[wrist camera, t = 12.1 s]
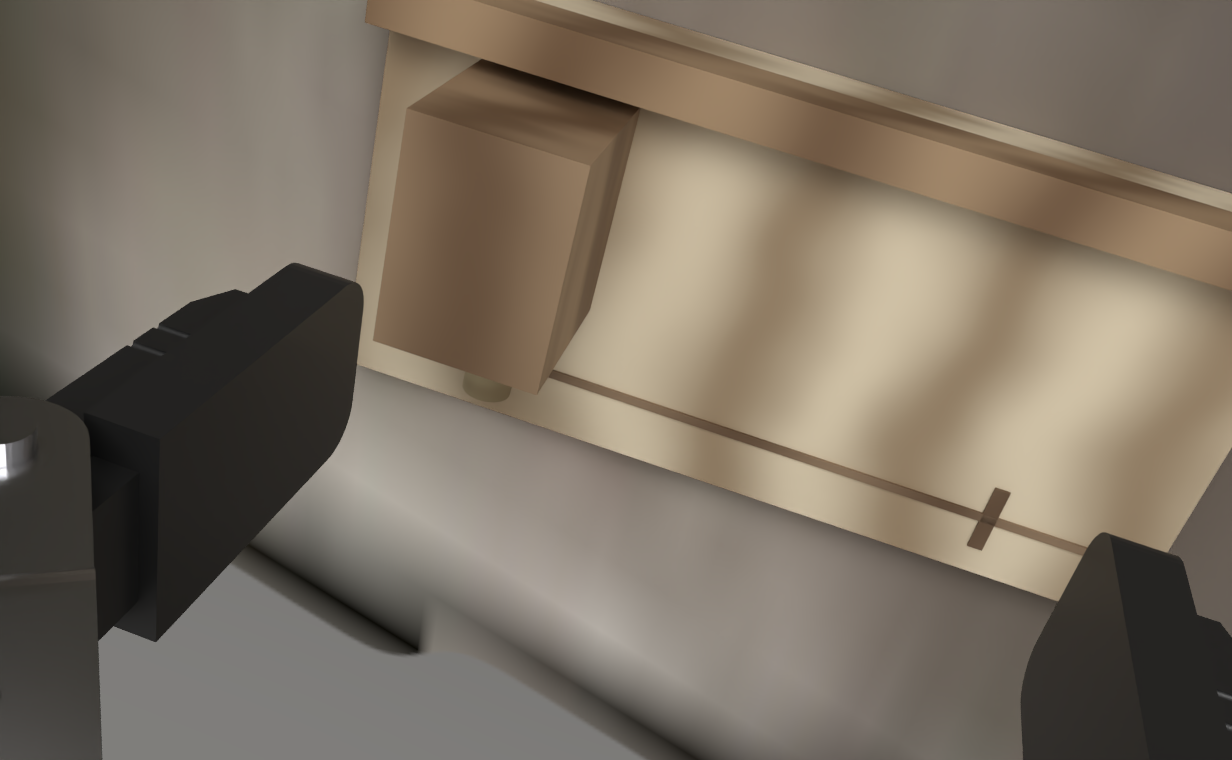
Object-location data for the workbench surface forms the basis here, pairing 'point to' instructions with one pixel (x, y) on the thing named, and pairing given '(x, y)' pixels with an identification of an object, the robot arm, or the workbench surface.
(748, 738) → the workbench surface
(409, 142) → the brown boxy piece
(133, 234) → the workbench surface
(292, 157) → the workbench surface
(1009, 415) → the maple board
